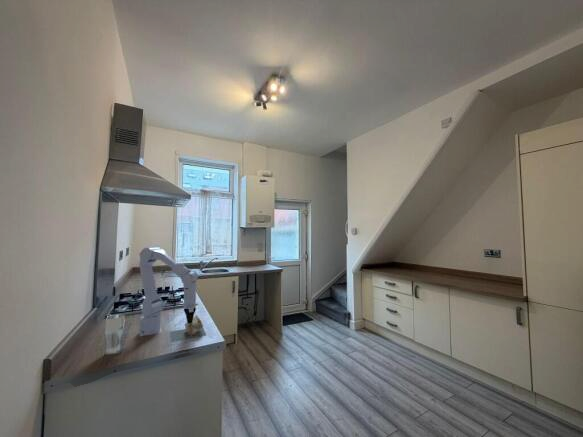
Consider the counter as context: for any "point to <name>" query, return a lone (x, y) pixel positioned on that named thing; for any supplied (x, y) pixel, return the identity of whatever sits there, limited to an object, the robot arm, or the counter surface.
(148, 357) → the counter surface
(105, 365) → the counter surface
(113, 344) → the beer glass
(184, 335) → the rubber mat
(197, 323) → the mottled beige block
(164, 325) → the counter surface
